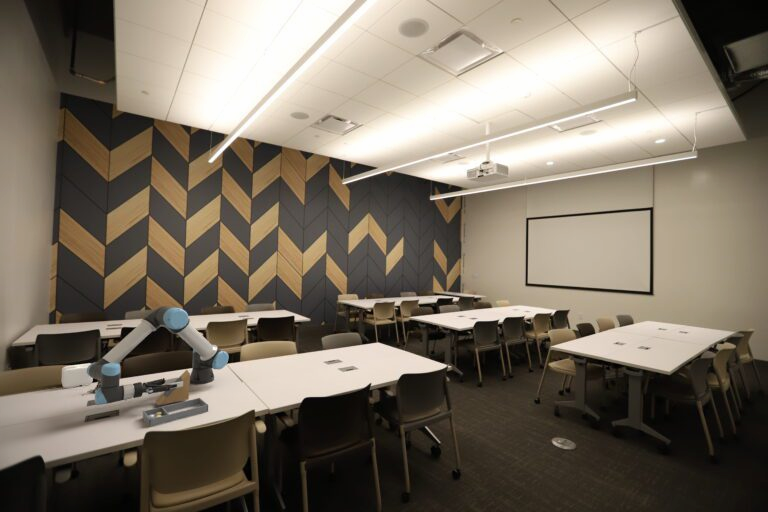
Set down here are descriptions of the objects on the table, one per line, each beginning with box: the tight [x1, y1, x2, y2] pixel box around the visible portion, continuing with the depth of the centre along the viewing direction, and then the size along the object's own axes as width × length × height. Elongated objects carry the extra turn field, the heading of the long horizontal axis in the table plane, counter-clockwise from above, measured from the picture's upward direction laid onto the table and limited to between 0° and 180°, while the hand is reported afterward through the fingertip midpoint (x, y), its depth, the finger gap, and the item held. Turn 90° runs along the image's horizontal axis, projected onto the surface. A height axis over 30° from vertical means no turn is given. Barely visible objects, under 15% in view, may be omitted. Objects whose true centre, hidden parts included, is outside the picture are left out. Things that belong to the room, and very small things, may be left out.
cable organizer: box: [61, 362, 94, 389], centre depth 223 cm, size 15×11×12 cm
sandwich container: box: [155, 369, 191, 406], centre depth 201 cm, size 9×15×15 cm, turn 129°
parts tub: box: [142, 397, 209, 428], centre depth 186 cm, size 27×13×4 cm, turn 136°
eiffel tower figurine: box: [81, 379, 101, 397], centre depth 213 cm, size 15×10×13 cm
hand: (180, 381), depth 203 cm, fingers closed on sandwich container, 8 cm apart
